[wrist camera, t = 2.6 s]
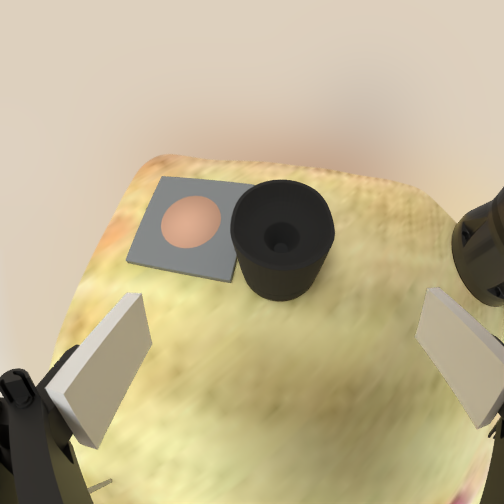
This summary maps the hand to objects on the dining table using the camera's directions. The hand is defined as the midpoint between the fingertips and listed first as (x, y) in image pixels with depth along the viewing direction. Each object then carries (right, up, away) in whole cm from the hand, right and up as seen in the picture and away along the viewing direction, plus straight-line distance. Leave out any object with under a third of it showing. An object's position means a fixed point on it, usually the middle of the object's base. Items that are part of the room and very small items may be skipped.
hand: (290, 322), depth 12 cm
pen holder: (+2, +1, +22) cm, 22 cm away
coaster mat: (-10, +7, +25) cm, 28 cm away
